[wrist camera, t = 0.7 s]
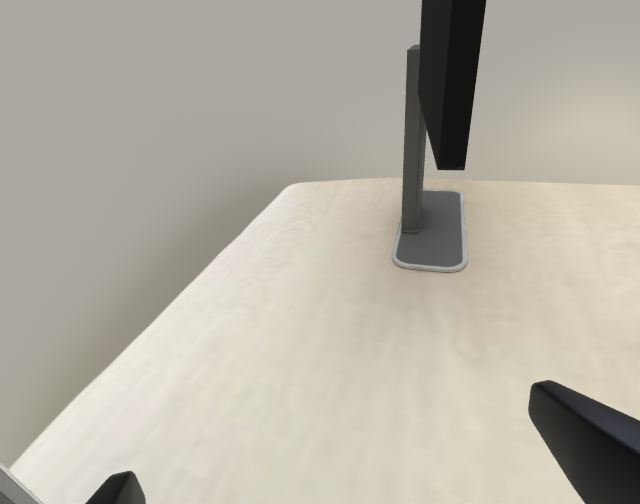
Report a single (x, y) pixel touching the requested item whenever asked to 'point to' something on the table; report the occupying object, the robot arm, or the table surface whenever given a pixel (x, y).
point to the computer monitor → (438, 133)
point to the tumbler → (14, 490)
